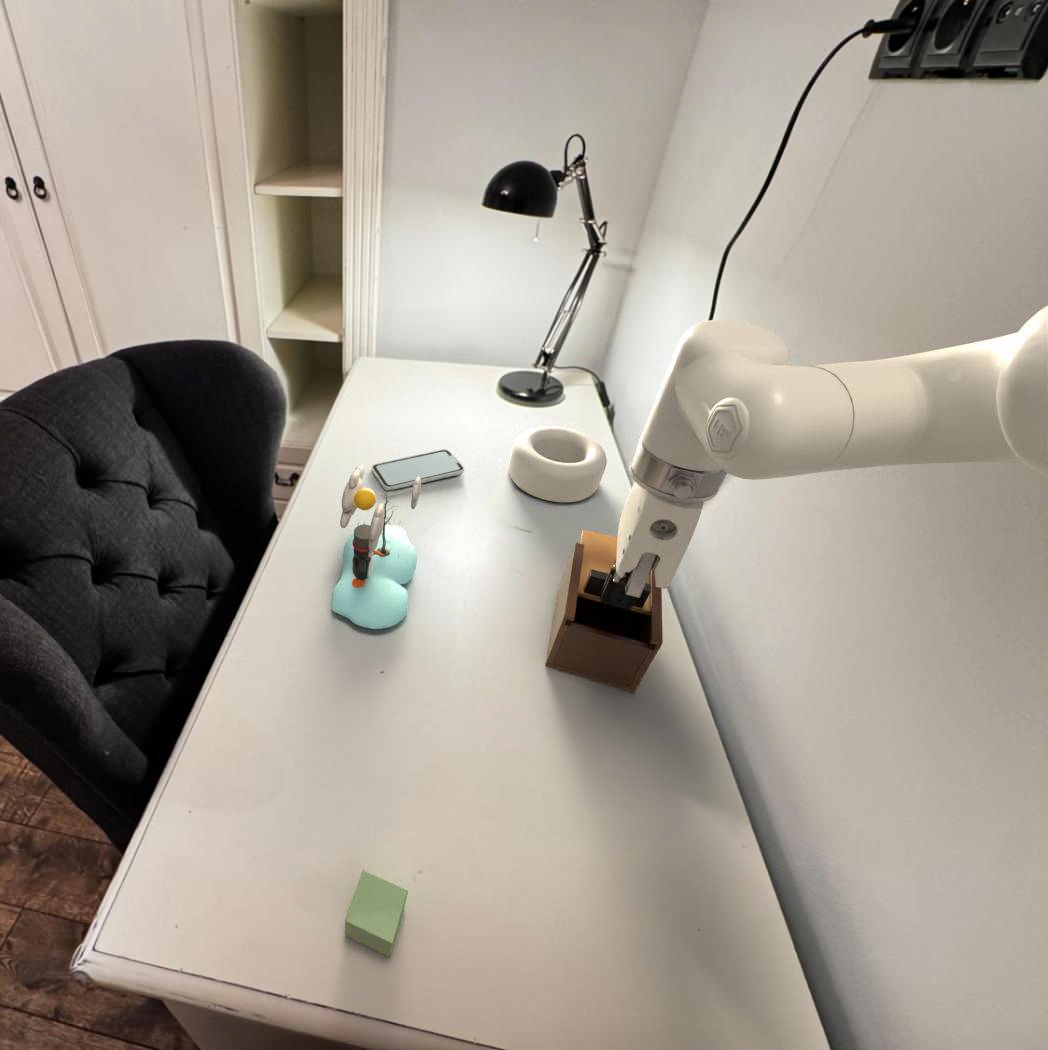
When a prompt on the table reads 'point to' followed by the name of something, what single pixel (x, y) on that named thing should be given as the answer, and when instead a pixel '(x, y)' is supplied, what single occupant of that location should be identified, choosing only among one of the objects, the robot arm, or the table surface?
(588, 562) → the lid
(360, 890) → the block
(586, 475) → the fat ring
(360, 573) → the penguin figurine
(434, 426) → the table surface
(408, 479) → the smartphone
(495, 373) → the table surface
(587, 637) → the box
